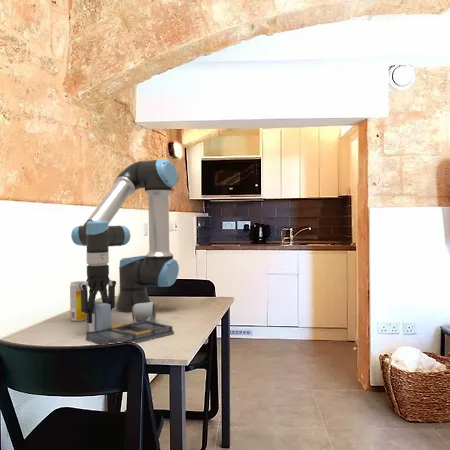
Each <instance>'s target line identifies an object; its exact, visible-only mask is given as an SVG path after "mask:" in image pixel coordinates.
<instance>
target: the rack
mask: <svg viewBox="0 0 450 450" xmlns="http://www.w3.org/2000/svg"><path fill="white" fill-rule="evenodd" d="M171 335H175V331H174V330H173V326H172V325H168V324H163V323H159V322H156V321H155V322H151V321H142V322H137V323H134V322H133V323H129V324H127V323H123V324H118V325H114V326H111V328H107V329H102V330H97V331H92V332H89V331H87V332H86V336H85V341H88V342H91V343H94V344H98V345H100V344H109V343H118V342H135V344H138V342H139V343H142V341H143V342H147V341H150V339H152V340H155V339H154V338H156V339H160V338H163V337H167V336H171ZM159 337H160V338H159ZM146 340H147V341H146Z"/></svg>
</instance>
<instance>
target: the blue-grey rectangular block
mask: <svg viewBox="0 0 450 450" xmlns="http://www.w3.org/2000/svg"><path fill="white" fill-rule="evenodd" d="M111 313H112V311H111V304H107V303H103V302H102V301H96V300H95V303H94V308H93V314H95V331H97V330H102V329H107V328H111V327H112V318H111V316H112V315H111ZM86 331H87V332H89V323H87V322H86Z"/></svg>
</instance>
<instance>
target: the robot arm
mask: <svg viewBox="0 0 450 450" xmlns="http://www.w3.org/2000/svg"><path fill="white" fill-rule="evenodd" d="M177 182H178V173H177V169H176V167H175V165H174V163H172V161H170V160H169V159H152V160H142V161H141V160H140V161H136V162H133V163H132V164H129V165H128V166H126V168H124V169H123V170H122V171H121V172H119V174H118V175H117V176H116V178H115V179H114V185H113V186H112V187H111V188H110V190H109V191H108V192H107V194H105V196H104V197H103V199H102V200H101V202H100V203H99V204H98V205H97V207H96V208H95V210H94V211H93V212H92V213H91V215H90V216H88V218H87V220H86V221H85V222H84V224H83V225H77V226H75V227H74V228H72V231H71V234H70V235H71V241H72V242H73V244H75V245H76V246H82V247H86V264H87V265H86V277H87V278H86V281H85V283H84V284H80V285H79V287H80V290H81V312H84V313H86V314H87V318H86V324H87V323H89V331H88V332H92V331H95V314H93V308H94V303H95V301H96V296H97V295H98V292H99V293H100V298H101V302H102V303H107V304H111V312H112V311H113V309H115V310H116V311H117V312H126V313H130V312H131V313H132V308H133V305H134V304H138V303H148V302H151V300H150V297H149V294H148V292H147V291H148V290H147V287H160V288H163V287H165V288H166V287H171V286H172V285H174V284H175V282H176V281H177V279H178V277H179V269H180V268H179V267H180V266H179V264H178V261H177V260H176V259H174V253H172V252H171V251H170V214H169V213H170V212H169V211H170V207H169V204H170V202H169V196H170V194H171V193H172V192H173V187H175V186H176V185H177ZM140 189H144V193H145V194H146V195H147V196H148V244H149V245H148V246H149V247H148V252H147V254H146V255H138V256H130V257H123V258H121V259H120V260H119V267H118V269H119V272H118V273H119V293H118V297H117V300H116V285H117V281H116V280H111V279H110V277H109V275H110V265H109V261H110V260H109V259H110V257H109V254H110V253H109V251H110V249H109V248H110V247H122V246H125V245H127V244H129V242H130V240H131V231H130V230H129V228H128V227H127V226H124V225H109V224H110V222H112V220H113V219H114V217H115V216H116V214H118V212H119V210H121V209H120V208H121V207H122V206H123V204H124V203H125V202H126V200H127V199H128V198H129V197H130V196H131V195H133V194H134V193H135V192H136V191H137V190H140ZM107 287H108V289H107ZM88 288H89V290H88Z"/></svg>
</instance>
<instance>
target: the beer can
mask: <svg viewBox="0 0 450 450" xmlns="http://www.w3.org/2000/svg"><path fill="white" fill-rule="evenodd" d="M85 282H86V281H85V280H84V281H83V280H78V281H77V280H76V281H72V282H70V285H69V293H70V294H69V298H70V299H69V300H70V301H69V302H70V303H69V305H70V306H69V308H70V313H69V314H70V320H71V321H72V322H85V321H86V320H87V314H86V313H84V312H81V290H80V287H79V285H80V284H84V283H85Z"/></svg>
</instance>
